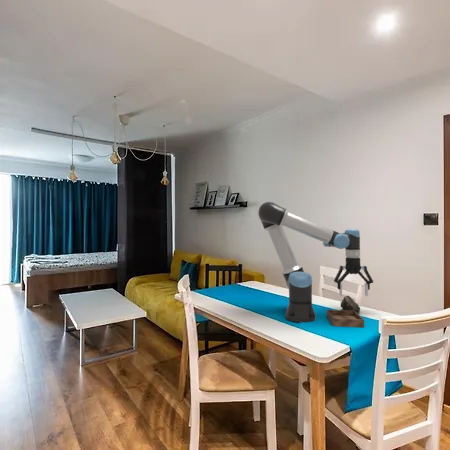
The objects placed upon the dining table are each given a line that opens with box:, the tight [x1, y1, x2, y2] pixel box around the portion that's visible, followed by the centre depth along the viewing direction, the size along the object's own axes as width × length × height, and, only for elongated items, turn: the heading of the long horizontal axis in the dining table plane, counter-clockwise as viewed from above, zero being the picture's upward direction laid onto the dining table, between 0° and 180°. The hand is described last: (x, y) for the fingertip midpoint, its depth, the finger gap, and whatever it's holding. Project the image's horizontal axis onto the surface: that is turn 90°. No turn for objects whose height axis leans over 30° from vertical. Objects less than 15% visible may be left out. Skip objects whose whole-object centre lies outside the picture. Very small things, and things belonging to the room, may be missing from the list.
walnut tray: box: [326, 309, 365, 328], centre depth 148 cm, size 14×15×4 cm
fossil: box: [340, 295, 361, 313], centre depth 165 cm, size 11×9×10 cm
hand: (353, 295), depth 164 cm, fingers open, 13 cm apart
